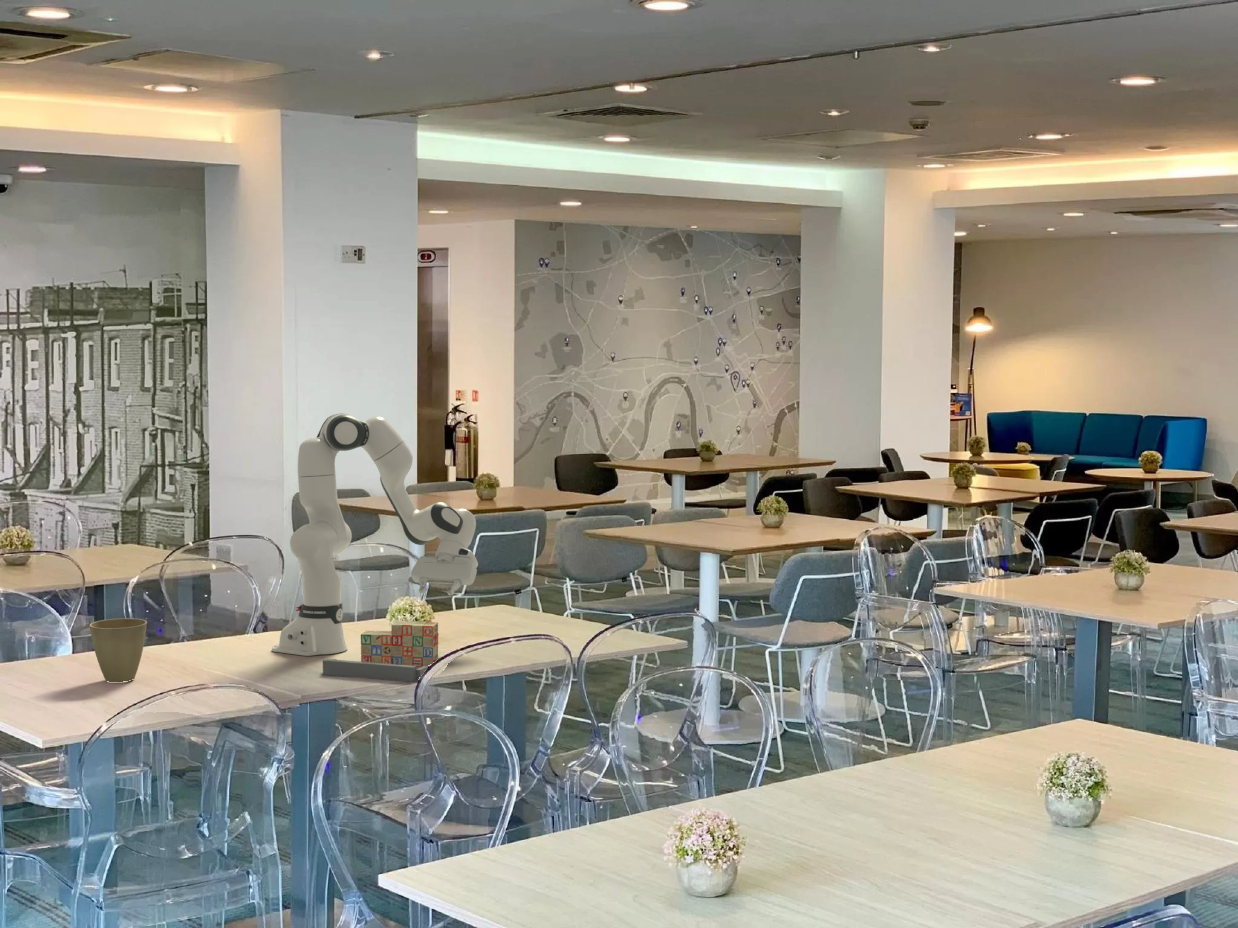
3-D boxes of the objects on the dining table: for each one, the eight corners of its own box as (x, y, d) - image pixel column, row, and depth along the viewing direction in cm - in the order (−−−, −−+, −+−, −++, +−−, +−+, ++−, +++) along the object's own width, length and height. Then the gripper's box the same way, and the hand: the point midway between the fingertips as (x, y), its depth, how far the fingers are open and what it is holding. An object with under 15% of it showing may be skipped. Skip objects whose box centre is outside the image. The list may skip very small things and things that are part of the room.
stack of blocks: (360, 666, 442) (359, 623, 441) (366, 661, 448) (366, 619, 447) (433, 668, 439) (433, 625, 438) (438, 663, 445) (438, 621, 444)
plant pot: (83, 679, 423) (81, 622, 422) (136, 672, 432) (135, 616, 431) (102, 689, 412) (100, 629, 410) (156, 681, 421) (155, 623, 419)
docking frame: (319, 674, 430) (318, 659, 430) (332, 669, 437) (331, 655, 436) (416, 682, 420) (416, 667, 419) (428, 677, 426) (428, 662, 426)
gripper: (416, 548, 472) (401, 585, 464) (476, 551, 465) (462, 588, 456) (423, 561, 477) (408, 597, 468) (483, 564, 469) (469, 601, 461)
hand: (435, 593), depth 462 cm, fingers open, 8 cm apart
